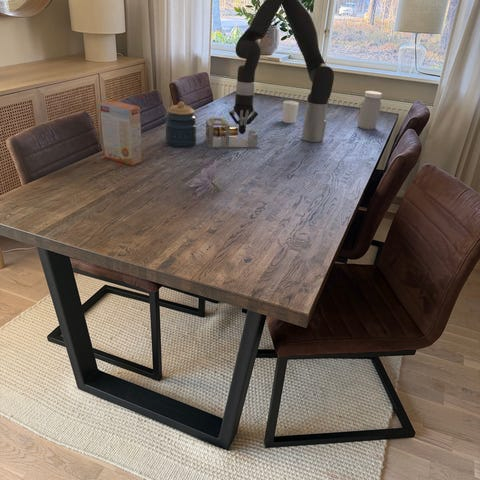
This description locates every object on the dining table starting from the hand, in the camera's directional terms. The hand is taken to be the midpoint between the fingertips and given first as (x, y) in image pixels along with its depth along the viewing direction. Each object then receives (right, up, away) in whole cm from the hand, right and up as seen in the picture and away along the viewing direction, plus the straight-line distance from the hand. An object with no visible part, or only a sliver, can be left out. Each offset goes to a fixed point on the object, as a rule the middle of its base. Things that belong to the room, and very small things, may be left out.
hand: (241, 133), depth 191 cm
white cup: (+25, +16, +41) cm, 50 cm away
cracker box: (-45, -16, -24) cm, 54 cm away
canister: (-26, -5, -3) cm, 27 cm away
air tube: (-9, -2, -1) cm, 9 cm away
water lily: (-13, -30, -43) cm, 54 cm away
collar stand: (-4, -4, +1) cm, 6 cm away
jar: (+66, +13, +42) cm, 79 cm away
